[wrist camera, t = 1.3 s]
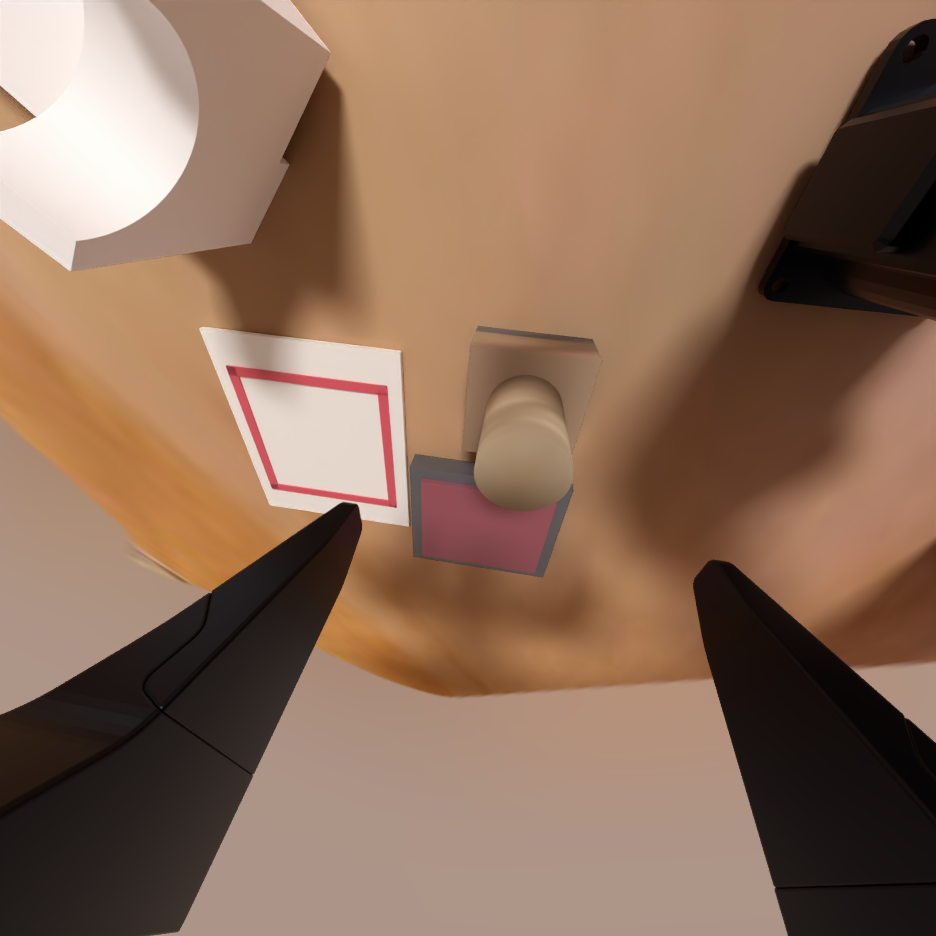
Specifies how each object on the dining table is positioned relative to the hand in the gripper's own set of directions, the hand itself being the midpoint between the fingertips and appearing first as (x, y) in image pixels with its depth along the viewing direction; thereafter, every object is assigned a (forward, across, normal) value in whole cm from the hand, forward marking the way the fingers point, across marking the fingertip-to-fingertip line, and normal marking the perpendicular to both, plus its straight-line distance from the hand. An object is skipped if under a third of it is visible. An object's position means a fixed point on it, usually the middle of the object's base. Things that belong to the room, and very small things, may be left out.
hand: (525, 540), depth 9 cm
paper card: (+10, +11, +5) cm, 16 cm away
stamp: (+10, 0, 0) cm, 10 cm away
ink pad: (+10, +1, +9) cm, 13 cm away
